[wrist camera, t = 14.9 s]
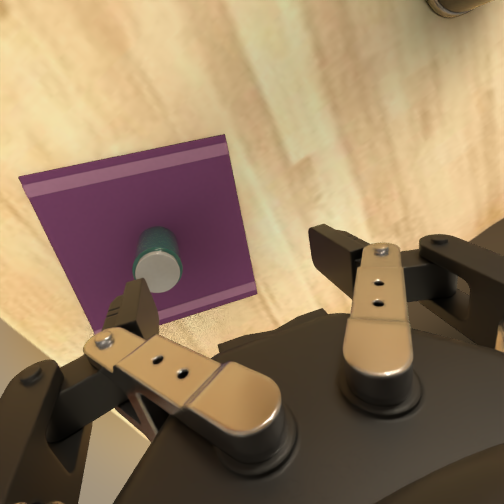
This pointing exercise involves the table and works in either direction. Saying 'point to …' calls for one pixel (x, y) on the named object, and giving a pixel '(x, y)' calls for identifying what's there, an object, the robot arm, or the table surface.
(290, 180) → the table surface
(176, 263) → the salt shaker
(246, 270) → the napkin
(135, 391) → the robot arm
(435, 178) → the table surface
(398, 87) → the table surface
